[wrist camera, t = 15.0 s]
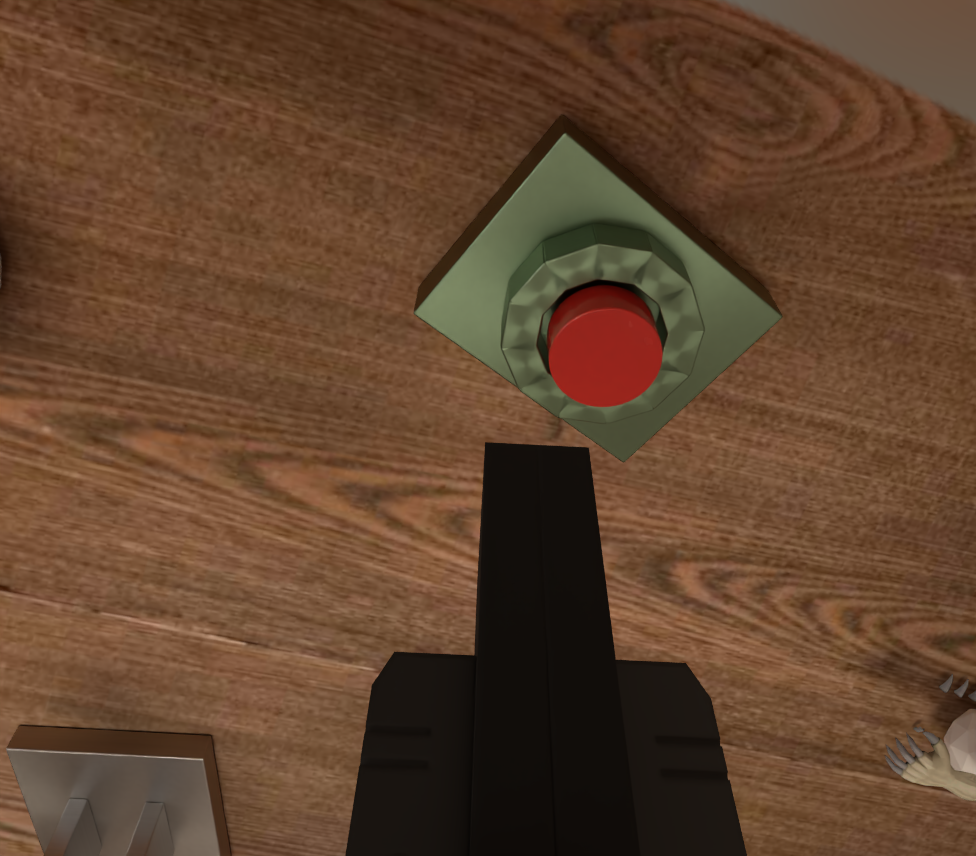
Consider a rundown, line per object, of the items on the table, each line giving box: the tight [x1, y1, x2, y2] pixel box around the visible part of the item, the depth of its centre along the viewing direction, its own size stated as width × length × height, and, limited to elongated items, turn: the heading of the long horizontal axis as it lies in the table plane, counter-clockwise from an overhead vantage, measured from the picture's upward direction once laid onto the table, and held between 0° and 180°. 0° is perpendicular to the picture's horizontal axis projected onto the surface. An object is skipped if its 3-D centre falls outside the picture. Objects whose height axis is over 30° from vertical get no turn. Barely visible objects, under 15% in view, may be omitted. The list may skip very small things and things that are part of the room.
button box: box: [414, 115, 782, 462], centre depth 32 cm, size 10×8×4 cm
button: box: [547, 285, 663, 407], centre depth 30 cm, size 4×4×2 cm
